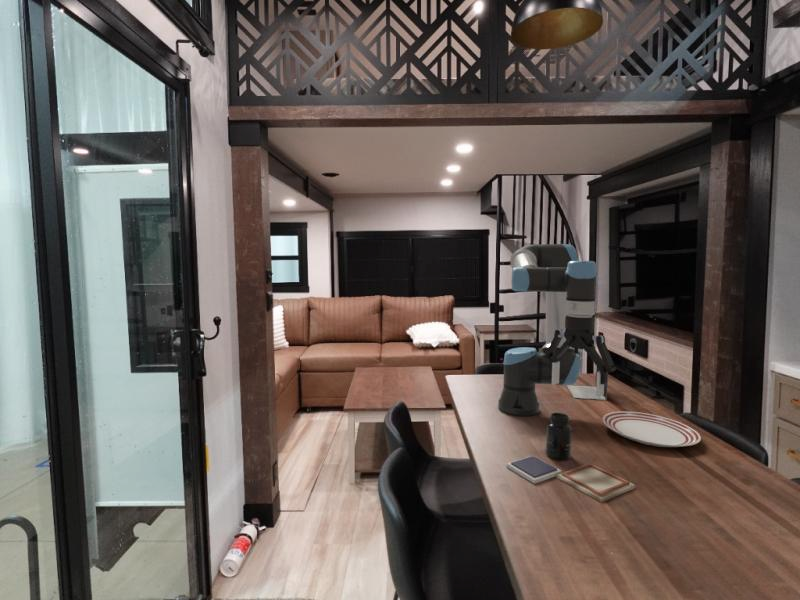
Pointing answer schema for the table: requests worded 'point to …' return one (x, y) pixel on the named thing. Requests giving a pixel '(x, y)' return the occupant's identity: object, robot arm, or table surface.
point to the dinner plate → (651, 429)
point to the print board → (596, 482)
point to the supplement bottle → (558, 437)
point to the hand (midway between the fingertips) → (576, 389)
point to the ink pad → (533, 469)
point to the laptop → (588, 391)
